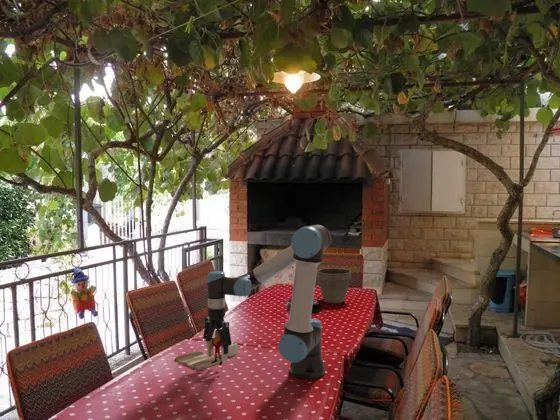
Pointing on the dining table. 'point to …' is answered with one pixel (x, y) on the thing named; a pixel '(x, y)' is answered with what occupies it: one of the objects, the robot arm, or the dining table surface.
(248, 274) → the robot arm
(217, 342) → the action figure
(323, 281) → the plant pot
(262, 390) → the dining table surface
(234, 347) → the die
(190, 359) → the board
